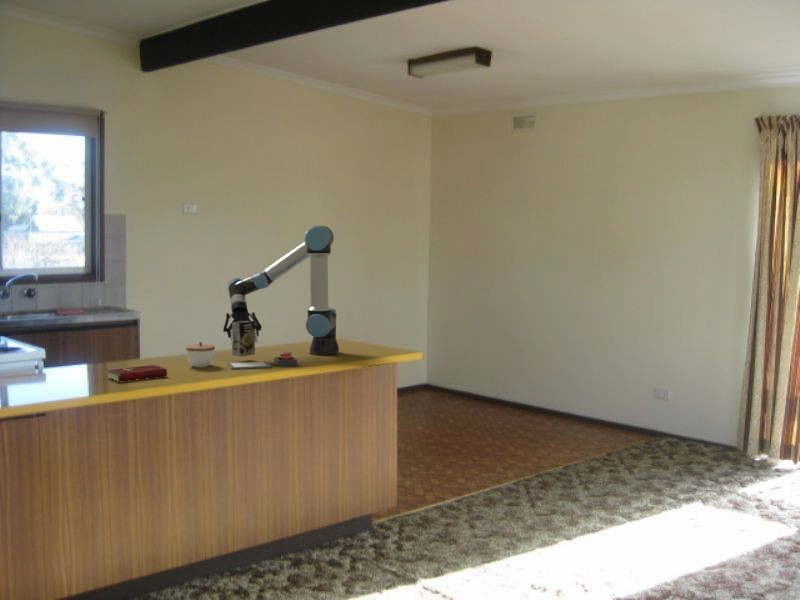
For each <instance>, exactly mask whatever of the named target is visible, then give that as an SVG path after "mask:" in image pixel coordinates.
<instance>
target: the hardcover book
mask: <svg viewBox="0 0 800 600" xmlns="http://www.w3.org/2000/svg"><path fill="white" fill-rule="evenodd" d="M106 371H107V374H108V376H107V377H109V378H108V379H110V378H112V379H114V380H113V381H115V380H117V381H118V382H119V383H121V382H120V381H127V382H129V381H128V380H136V379H144V380H147V379H146V378H153V379H157V378H156V377H161V378H166V377H165V376H167V377H168V369H167V368H166V367H163V366H161V365H157V364H150V365H149V364H148V365H138V366H130V367H128V366H127V367H120V368H109V369H106ZM112 379H111V380H112ZM117 381H116V382H117ZM136 381H137V380H136ZM118 382H117V383H118Z"/></svg>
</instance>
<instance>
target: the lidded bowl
mask: <svg viewBox="0 0 800 600" xmlns="http://www.w3.org/2000/svg"><path fill="white" fill-rule="evenodd" d="M198 342H199V343H198V344H190V345H187V346H186V347H185V348H186V349H185V350H186V358H187V361H188V362H189V364H190V365H191V366H192V367H193V366H194V367H193V368H207V367H206V366H208V367H210V365H211V364H212V362H213V361H214V358H215V348H216V346H215V345H212V344H205V343H203V342H202V341H198Z"/></svg>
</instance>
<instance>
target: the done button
mask: <svg viewBox="0 0 800 600" xmlns="http://www.w3.org/2000/svg"><path fill="white" fill-rule="evenodd" d="M279 357H280V360H290V359H291V357H292V352H290V351H281V352H279Z"/></svg>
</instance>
